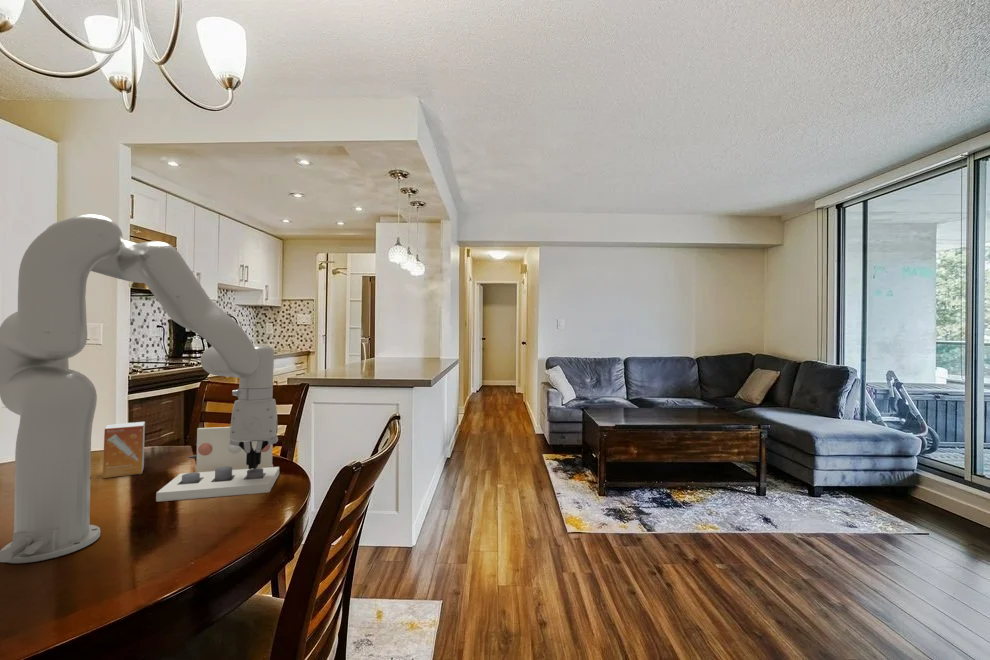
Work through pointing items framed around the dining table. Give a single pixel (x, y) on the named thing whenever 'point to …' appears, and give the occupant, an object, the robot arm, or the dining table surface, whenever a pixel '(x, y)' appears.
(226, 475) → the button
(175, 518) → the dining table surface
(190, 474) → the button
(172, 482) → the button board
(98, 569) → the dining table surface
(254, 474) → the button
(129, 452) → the small box
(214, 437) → the pattern card
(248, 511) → the dining table surface
